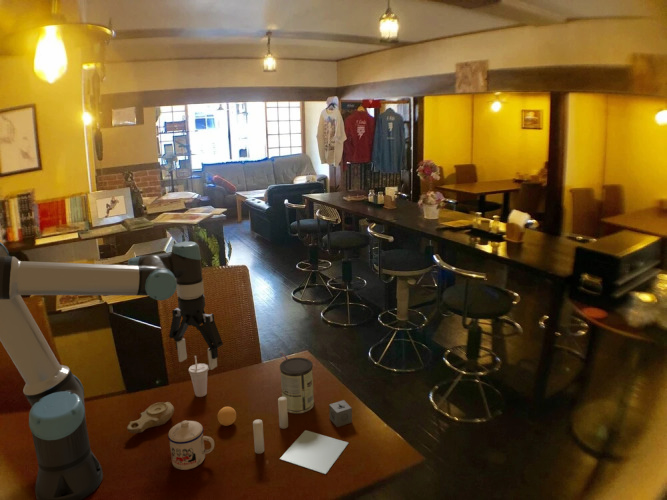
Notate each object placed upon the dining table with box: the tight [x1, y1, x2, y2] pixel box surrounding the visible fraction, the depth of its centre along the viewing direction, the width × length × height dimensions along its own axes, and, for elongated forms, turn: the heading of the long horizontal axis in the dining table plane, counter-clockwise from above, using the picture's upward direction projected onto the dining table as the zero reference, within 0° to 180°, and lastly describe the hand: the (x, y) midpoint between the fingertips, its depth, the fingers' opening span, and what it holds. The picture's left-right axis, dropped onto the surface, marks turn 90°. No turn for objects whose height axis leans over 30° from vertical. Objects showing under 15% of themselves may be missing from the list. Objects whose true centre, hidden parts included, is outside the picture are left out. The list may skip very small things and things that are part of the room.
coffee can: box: [279, 357, 315, 414], centre depth 159 cm, size 10×10×14 cm
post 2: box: [277, 396, 289, 429], centre depth 149 cm, size 3×3×9 cm
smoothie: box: [188, 355, 210, 398], centre depth 166 cm, size 6×6×14 cm
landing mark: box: [279, 429, 349, 475], centre depth 138 cm, size 14×14×1 cm
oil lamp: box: [126, 401, 175, 434], centre depth 151 cm, size 11×14×5 cm
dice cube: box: [328, 399, 353, 428], centre depth 151 cm, size 5×5×5 cm
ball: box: [217, 406, 237, 427], centre depth 151 cm, size 6×6×6 cm
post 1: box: [252, 419, 265, 455], centre depth 138 cm, size 3×3×9 cm
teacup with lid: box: [167, 420, 215, 471], centre depth 134 cm, size 12×9×12 cm
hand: (197, 363), depth 151 cm, fingers open, 11 cm apart
